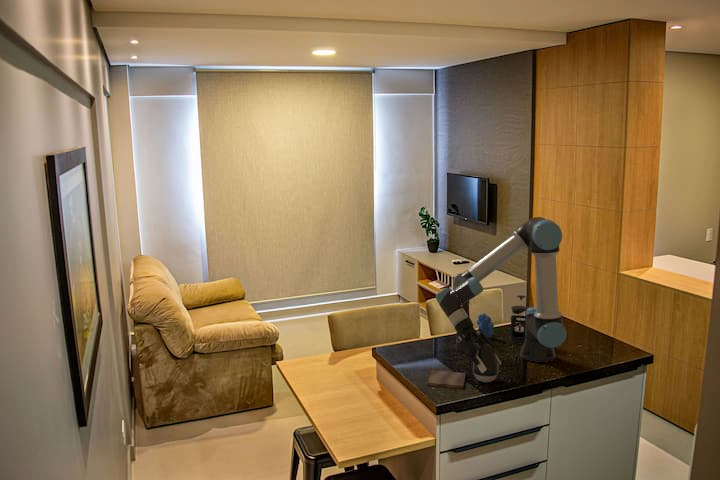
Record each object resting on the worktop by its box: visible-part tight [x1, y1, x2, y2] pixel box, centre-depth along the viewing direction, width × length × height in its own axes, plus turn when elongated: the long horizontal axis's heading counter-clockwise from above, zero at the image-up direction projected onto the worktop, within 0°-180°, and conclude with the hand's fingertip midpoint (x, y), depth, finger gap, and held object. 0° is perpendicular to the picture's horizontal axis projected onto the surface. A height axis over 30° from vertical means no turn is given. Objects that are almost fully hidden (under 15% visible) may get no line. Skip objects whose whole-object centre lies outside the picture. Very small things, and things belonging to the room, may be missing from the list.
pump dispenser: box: [472, 344, 499, 383], centre depth 246 cm, size 10×10×15 cm
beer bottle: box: [455, 300, 473, 353], centre depth 283 cm, size 8×8×24 cm
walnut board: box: [427, 369, 467, 390], centre depth 247 cm, size 14×14×1 cm
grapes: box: [476, 312, 495, 339], centre depth 303 cm, size 12×7×12 cm, turn 32°
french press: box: [509, 294, 530, 343], centre depth 296 cm, size 12×9×23 cm
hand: (491, 368), depth 244 cm, fingers closed on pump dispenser, 9 cm apart
